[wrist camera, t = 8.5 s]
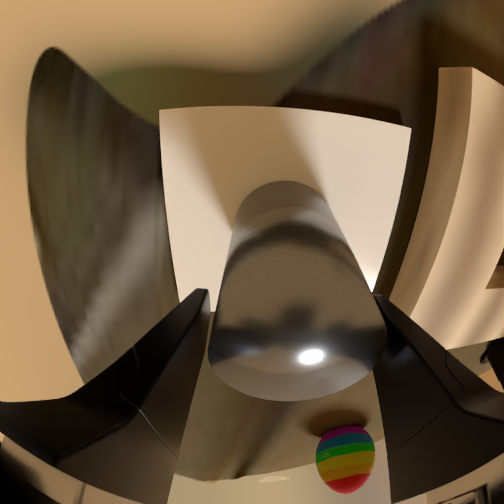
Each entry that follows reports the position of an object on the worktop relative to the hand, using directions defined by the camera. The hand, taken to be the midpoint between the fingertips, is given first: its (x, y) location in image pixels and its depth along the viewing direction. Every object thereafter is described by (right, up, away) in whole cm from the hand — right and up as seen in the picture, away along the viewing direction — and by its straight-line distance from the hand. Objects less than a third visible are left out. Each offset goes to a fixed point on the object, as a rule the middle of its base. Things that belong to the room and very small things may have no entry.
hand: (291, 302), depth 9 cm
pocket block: (+17, +3, +4) cm, 18 cm away
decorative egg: (+11, -24, +21) cm, 34 cm away
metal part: (0, +3, +5) cm, 6 cm away
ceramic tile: (0, +3, +5) cm, 6 cm away
